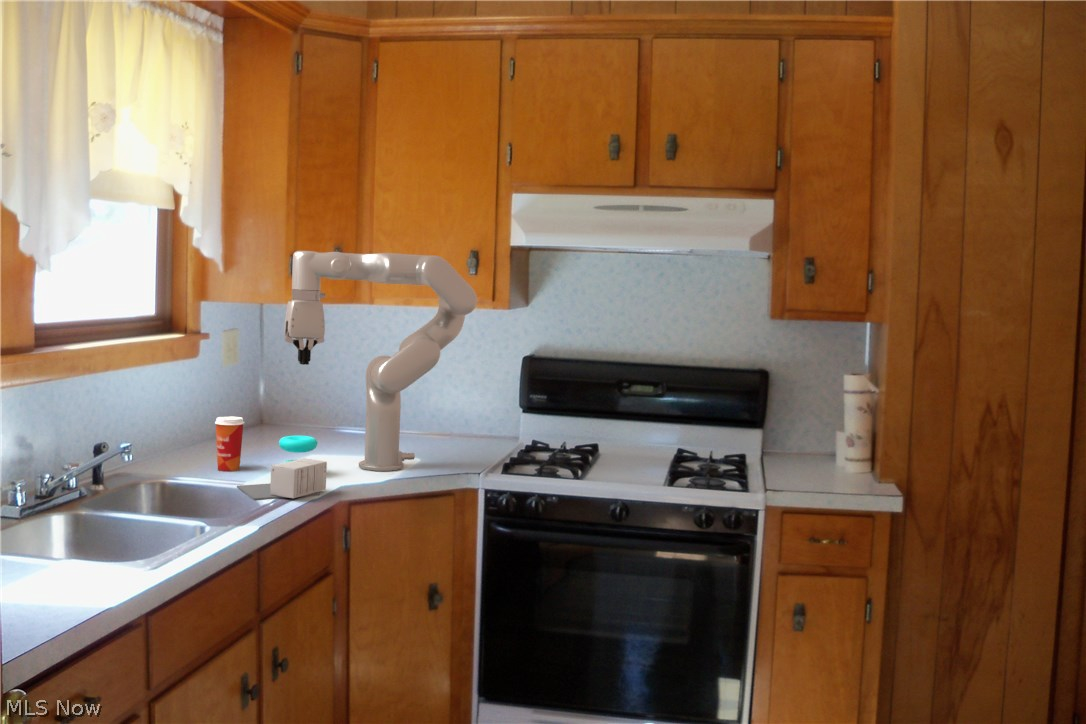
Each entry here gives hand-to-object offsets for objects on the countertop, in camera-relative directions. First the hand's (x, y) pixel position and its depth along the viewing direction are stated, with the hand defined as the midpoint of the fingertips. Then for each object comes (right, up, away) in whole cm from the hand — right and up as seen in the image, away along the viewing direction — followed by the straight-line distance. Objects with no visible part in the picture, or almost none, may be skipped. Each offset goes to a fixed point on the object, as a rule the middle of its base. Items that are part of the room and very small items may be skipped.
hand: (304, 364), depth 270 cm
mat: (0, -31, -25) cm, 40 cm away
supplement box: (+8, -27, -22) cm, 36 cm away
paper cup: (-20, -29, -2) cm, 35 cm away
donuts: (-1, -30, -4) cm, 30 cm away
